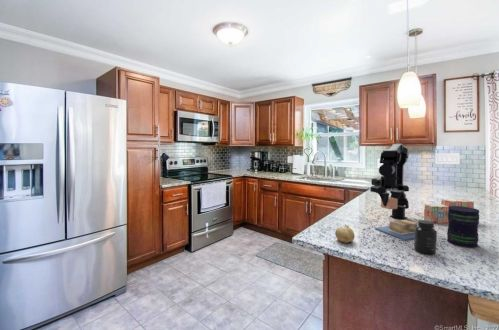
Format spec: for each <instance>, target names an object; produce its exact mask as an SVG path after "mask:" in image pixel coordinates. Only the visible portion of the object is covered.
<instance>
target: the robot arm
mask: <svg viewBox="0 0 499 330" xmlns="http://www.w3.org/2000/svg"><path fill="white" fill-rule="evenodd" d="M408 159H409V149H408V148H407V147H405V146H404V144H403V143H393V144H391V147H390V148H388V149H387V148H385V149H383V151H381V154H380V159H379V164H381V165H380V166H379V167H378V173H379V174H380V175H381V177H380V179H377V178H371V185H372V186H371V187H370V190H369V191H370V192H372V193H376V194H377V195H379V196H380V201H381V200H382V202H383V205H384V206H386V205H387V202H388V198H389V197H392V198H397V199H398V204H397V209H391V215H389V217H391V218H394V219H397V220H406V219H408V217H407V216H406V210H409V208H410V206H409V200H408V198H407V195H406V193H405V192H409V191H410V187H409V186H408V185H407V184H406V185H405V184H404V170H405V169H404V166H405V165H406V163H407V162H408ZM388 191H389V193H388ZM390 194H391V195H390Z"/></svg>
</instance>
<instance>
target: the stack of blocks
mask: <svg viewBox="0 0 499 330" xmlns="http://www.w3.org/2000/svg"><path fill="white" fill-rule="evenodd" d="M440 201H441V203H439V204H438V203H437V204H436V203H432V204H431V203H425V204H424V210H423V211H424V212H423V220H427V221H431V222H433V223H434V224H448V223H449V220H448V210H449V209H448V207H449V206H461V207H469V208H474V209H475V207H474V203H475V202H474V201H472V200H469V199H459V198H452V199H451V198H441V200H440Z"/></svg>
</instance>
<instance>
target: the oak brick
mask: <svg viewBox="0 0 499 330" xmlns="http://www.w3.org/2000/svg"><path fill="white" fill-rule="evenodd" d="M388 226H389V230H392V231H394V232H397V233H400V234H402V233H410V232H415V228H416V227H418V223H417V222H415V221H414V222H413V221H410V220H407V219H399V220H391V221H389V225H388Z"/></svg>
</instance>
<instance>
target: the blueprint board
mask: <svg viewBox="0 0 499 330" xmlns="http://www.w3.org/2000/svg"><path fill="white" fill-rule="evenodd" d="M389 226H390V225H387V226H386V225H385V226H379V227H378V226H377V227H374V230H375V231H378V232H381V233H383V234H385V235H388V236H391V237H394V238H396V239H399V240H402V241H411V240H415V232H410V233H402V234H400V233H397V232H394V231H392V230H389Z"/></svg>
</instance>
